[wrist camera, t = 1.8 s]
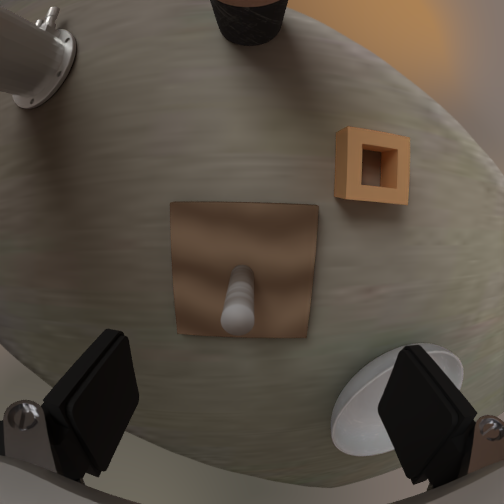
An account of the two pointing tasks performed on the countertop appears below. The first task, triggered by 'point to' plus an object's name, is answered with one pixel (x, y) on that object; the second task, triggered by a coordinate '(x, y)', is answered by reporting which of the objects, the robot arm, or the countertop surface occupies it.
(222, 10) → the travel mug
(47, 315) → the countertop surface
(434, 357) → the serving bowl
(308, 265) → the post stand
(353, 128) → the collar
